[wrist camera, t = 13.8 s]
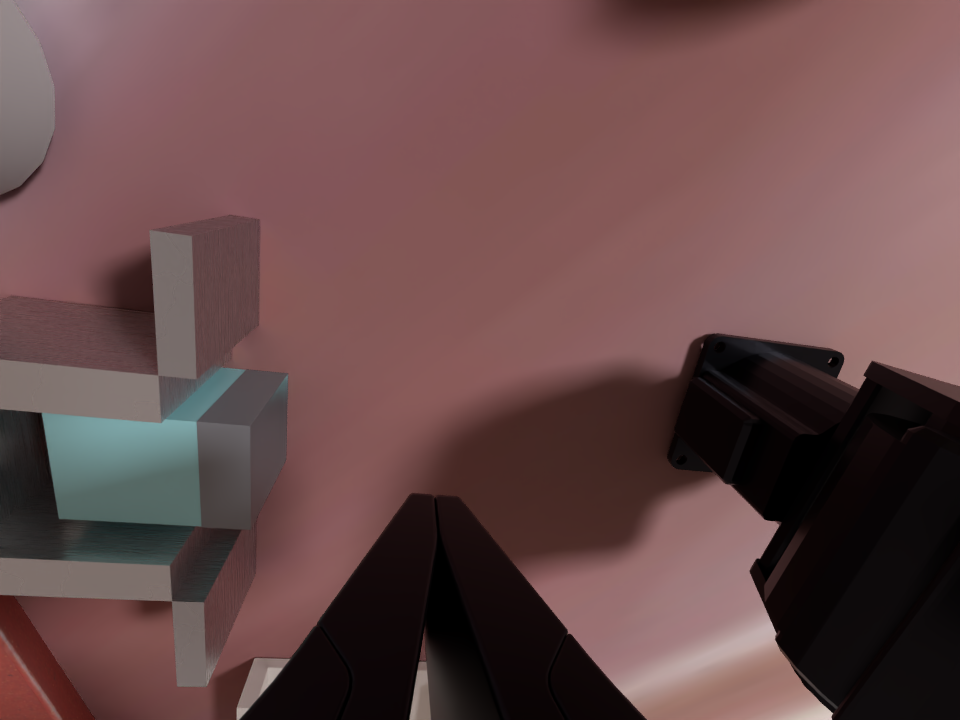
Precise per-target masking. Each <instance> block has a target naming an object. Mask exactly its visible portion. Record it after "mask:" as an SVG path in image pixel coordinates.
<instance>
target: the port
mask: <svg viewBox="0 0 960 720" xmlns="http://www.w3.org/2000/svg"><path fill="white" fill-rule="evenodd" d="M259 228H260V219H253V218H246V217H240V216H233V215H228V216H223V217H217V218H212V219H207V220H201V221H196V222H191V223H185V224H180V225H175V226H169V227H164V228H159V229H153V230H150V245H151V262H152V279H153V295H154V312H155V313H151V312H143V311H134V310H126V309H118V308H109V307H101V306H92V305H84V304H76V303H67V302H59V301H50V300H42V299H34V298H25V297H17V296H9V297H6V298H2V299H0V595H16V596H43V597H70V598H97V599H123V600H150V601H172V610H173V627H174V643H175V660H176V676H177V687H207V685H208V683H209V680H210V678H211V676H212V673H213V671H214V669H215V666H216V664H217V662H218V659H219V657H220V655H221V652H222V650H223V648H224V646H225V643H226V641H227V639H228V636H229V634H230V632H231V629H232V627H233V625H234V622H235V620H236V618H237V615H238V613H239V611H240V608H241V606H242V604H243V601H244V599H245V597H246V594H247V592H248V590H249V588H250V585H251V583H252V581H253V578H254V576H255V572H256V521H255V523H254V525H253V527H252V529H251V530H242V529H223V528H204V527H201V526H183V525H164V524H146V523H127V522H108V521H90V520H71V519H59V516H58V510H57V504H56V498H55V492H54V486H53V479H52V473H51V467H50V461H49V455H48V448H47V442H46V436H45V430H44V424H43V417H42V413H50V414H62V415H73V416H84V417H96V418H107V419H119V420H130V421H141V422H153V423H162V422H163V421H164V420H165V419H166V418H167V417H169V416H170V415H171V414H172V413H173V412H174V411H175V410H176V409H177V408H178V407H179V406H180V405H181V404H183V403H184V402H185V401H186V400H187V399H188V398H189V397H190V396H191V395H192V394H193V393H194V392H196V391H197V390H198V389H199V388H200V387H201V386H202V385H203V384H204V383H205V382H206V381H207V380H209V379H210V378H211V377H212V376H213V375H214V374H215V373H216V372H217V371H218V370H219V369H220V368H221V367H223V366H224V365H225V364H226V363H227V362H228V361H229V360H230V359H231V349H232V348H233V347H234V346H235V345H236V344H238V343H239V342H240V341H241V340H242V339H243V338H244V337H246V336H247V335H248V334H249V333H250V332H251V331H252V330H254V329H255V328H256V327H257V326H258V314H259Z"/></svg>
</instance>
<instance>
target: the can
mask: <svg viewBox="0 0 960 720" xmlns="http://www.w3.org/2000/svg"><path fill="white" fill-rule="evenodd" d="M54 130H55V91H54V84H53V81H52V78H51V75H50V72H49V69H48V66H47V62H46V59H45V56H44V53H43V50H42V47H41V44H40V42H39V40H38V38H37V37H36V35H35V34H34V32H33V30H32V29H31V27H30V26H29V24H28V22H27V21H26V19H25V18H24V16H23V14H22V13H21V11H20V10H19V8H18V7H17V5H16V3H15V2H14V0H0V195H1V194H4V193H6V192H8V191H11V190H13V189H15V188H17V187H20V186H21V185H22V184H23V183H24V182H25V180H26V179H27V178H28V177H29V176H30V175H31V174H32V173H33V172H34V171H35V170H36V169H37V168H38V167H39V166H40V164H41V163H42V162H43V161H44V158H45V155H46V152H47V149H48V147H49V144H50V141H51V138H52V135H53V132H54Z"/></svg>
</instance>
